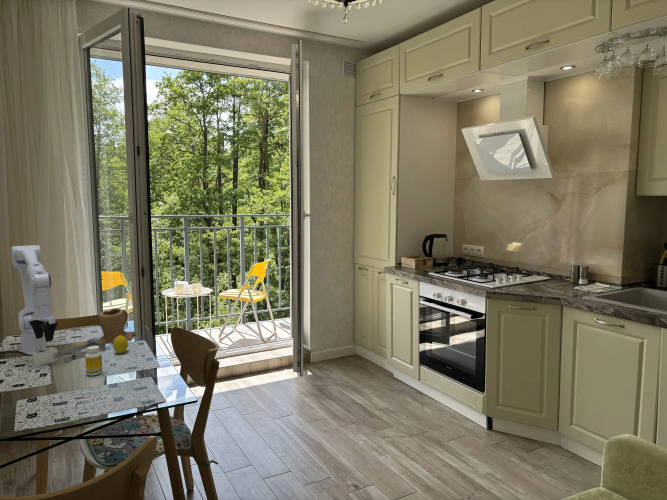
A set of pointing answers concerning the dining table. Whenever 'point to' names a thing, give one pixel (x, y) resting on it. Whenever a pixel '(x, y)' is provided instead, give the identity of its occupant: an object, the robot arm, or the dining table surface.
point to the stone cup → (113, 325)
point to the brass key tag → (79, 343)
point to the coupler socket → (80, 347)
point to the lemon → (120, 344)
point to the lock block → (45, 356)
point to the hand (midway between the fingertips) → (44, 339)
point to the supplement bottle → (93, 361)
